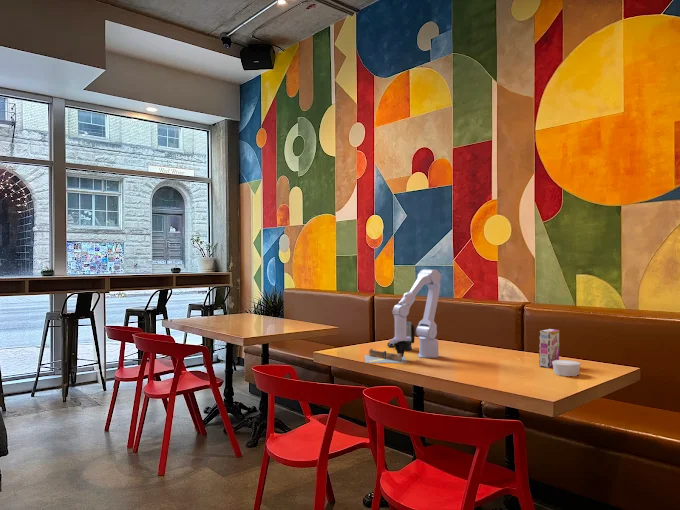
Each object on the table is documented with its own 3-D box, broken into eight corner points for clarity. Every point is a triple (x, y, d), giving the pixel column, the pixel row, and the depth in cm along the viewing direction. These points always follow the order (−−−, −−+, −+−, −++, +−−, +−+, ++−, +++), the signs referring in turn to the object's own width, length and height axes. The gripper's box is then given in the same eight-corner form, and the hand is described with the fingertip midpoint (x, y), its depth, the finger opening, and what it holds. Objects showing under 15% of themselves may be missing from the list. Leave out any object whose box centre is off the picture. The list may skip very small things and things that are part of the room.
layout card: (403, 355, 264) (403, 355, 264) (407, 363, 245) (407, 362, 245) (364, 355, 264) (364, 355, 264) (365, 363, 245) (365, 362, 245)
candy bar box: (549, 368, 233) (549, 331, 233) (538, 366, 236) (538, 330, 236) (560, 364, 240) (559, 329, 241) (549, 363, 244) (549, 328, 244)
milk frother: (408, 351, 276) (408, 323, 276) (381, 349, 283) (381, 322, 283) (416, 347, 289) (416, 320, 289) (390, 345, 296) (390, 319, 296)
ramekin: (564, 378, 213) (564, 365, 213) (546, 372, 224) (546, 360, 224) (586, 376, 216) (586, 364, 217) (568, 371, 227) (567, 359, 227)
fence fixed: (370, 355, 263) (370, 348, 263) (387, 358, 256) (387, 351, 256) (368, 356, 262) (368, 348, 262) (384, 359, 254) (384, 351, 254)
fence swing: (385, 358, 254) (385, 351, 254) (388, 358, 255) (388, 351, 255) (400, 361, 247) (400, 354, 247) (402, 360, 249) (402, 353, 249)
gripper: (403, 327, 261) (403, 353, 261) (384, 329, 251) (384, 357, 251) (414, 328, 256) (414, 355, 256) (395, 331, 246) (395, 359, 246)
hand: (400, 356), depth 253 cm, fingers closed
